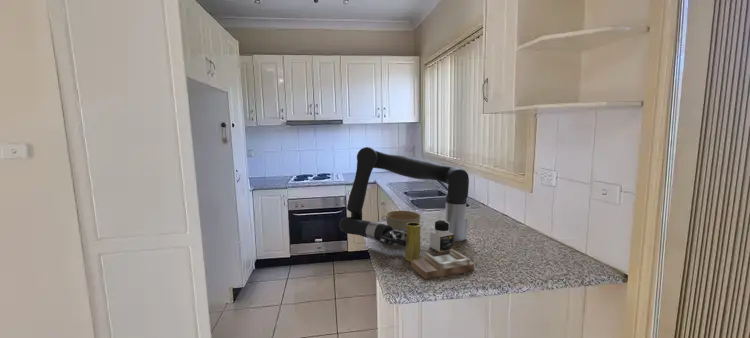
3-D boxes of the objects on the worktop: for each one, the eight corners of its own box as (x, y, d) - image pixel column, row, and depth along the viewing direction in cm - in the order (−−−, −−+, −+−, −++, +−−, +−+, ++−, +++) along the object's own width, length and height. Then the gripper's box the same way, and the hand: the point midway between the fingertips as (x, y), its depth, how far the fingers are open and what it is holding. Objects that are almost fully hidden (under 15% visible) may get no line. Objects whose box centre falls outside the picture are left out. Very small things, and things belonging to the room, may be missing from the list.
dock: (455, 259, 132) (456, 248, 132) (473, 270, 122) (474, 258, 122) (410, 266, 125) (411, 255, 124) (425, 279, 115) (426, 266, 114)
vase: (403, 256, 135) (404, 222, 133) (418, 256, 135) (419, 221, 134) (406, 262, 129) (407, 226, 127) (422, 262, 129) (423, 226, 127)
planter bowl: (386, 243, 150) (387, 219, 148) (384, 232, 166) (384, 210, 164) (422, 243, 150) (423, 219, 149) (417, 231, 166) (417, 210, 165)
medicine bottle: (439, 252, 139) (440, 224, 138) (429, 247, 145) (430, 220, 144) (453, 250, 142) (454, 222, 141) (442, 244, 149) (443, 218, 147)
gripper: (368, 227, 136) (401, 235, 126) (389, 219, 147) (421, 227, 137) (368, 245, 137) (401, 255, 127) (388, 236, 148) (420, 244, 138)
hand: (411, 240), depth 132 cm, fingers open, 8 cm apart
